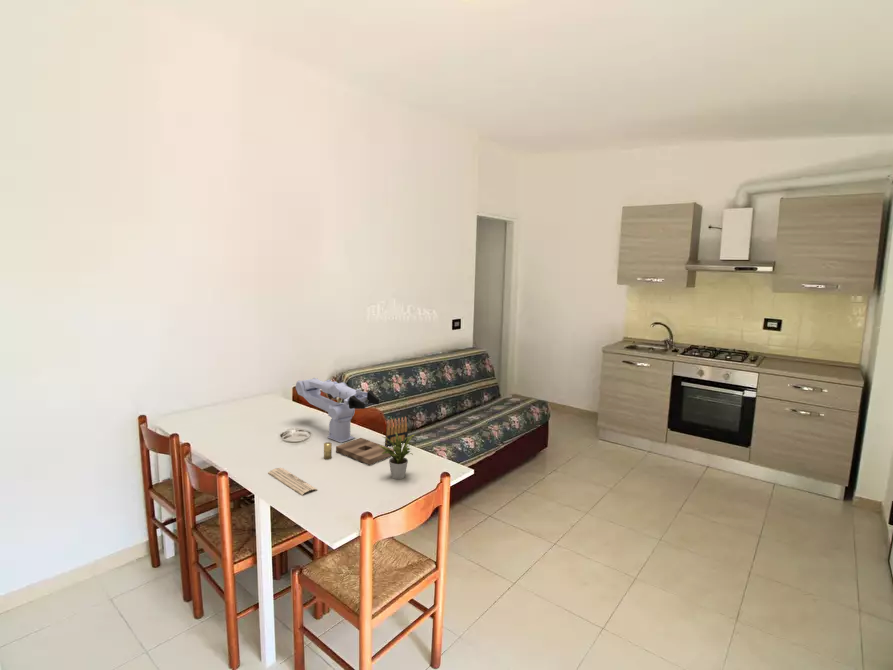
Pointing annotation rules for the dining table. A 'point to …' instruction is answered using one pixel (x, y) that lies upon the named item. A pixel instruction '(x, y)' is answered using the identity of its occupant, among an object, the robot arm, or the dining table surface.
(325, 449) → the brass peg
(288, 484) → the wooden slat
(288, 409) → the dining table surface
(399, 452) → the house plant
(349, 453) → the walnut socket board
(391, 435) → the ammunition clip
